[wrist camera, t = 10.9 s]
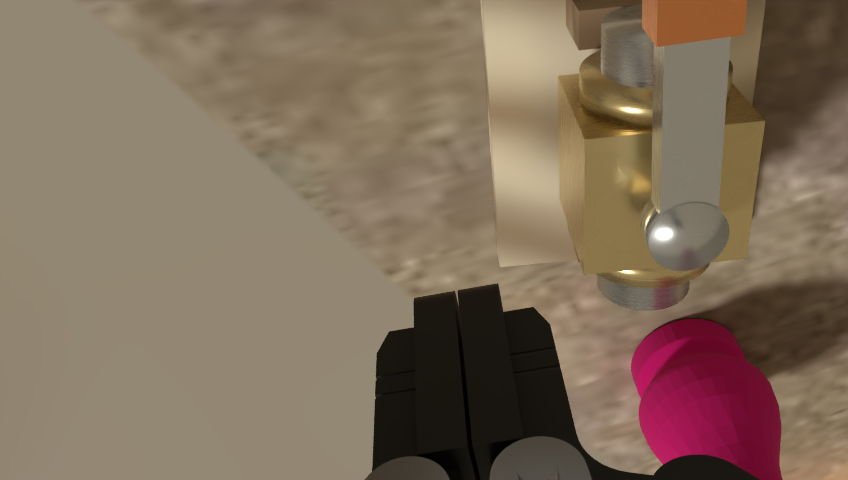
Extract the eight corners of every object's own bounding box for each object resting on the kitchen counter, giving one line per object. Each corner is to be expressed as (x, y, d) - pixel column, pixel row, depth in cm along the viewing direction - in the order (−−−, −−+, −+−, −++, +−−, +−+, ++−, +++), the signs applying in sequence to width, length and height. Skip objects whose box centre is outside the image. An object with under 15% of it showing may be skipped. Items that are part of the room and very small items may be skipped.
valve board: (476, -60, 34) (485, -31, 30) (762, -93, 34) (808, -68, 30) (497, 250, 43) (506, 302, 39) (724, 228, 42) (755, 278, 39)
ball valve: (556, 5, 32) (589, 67, 27) (718, -13, 32) (785, 46, 26) (560, 251, 39) (586, 343, 33) (694, 238, 39) (743, 328, 33)
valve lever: (739, -166, 23) (763, -157, 21) (712, 241, 30) (728, 269, 29) (639, -151, 23) (656, -141, 21) (637, 250, 30) (649, 278, 29)
